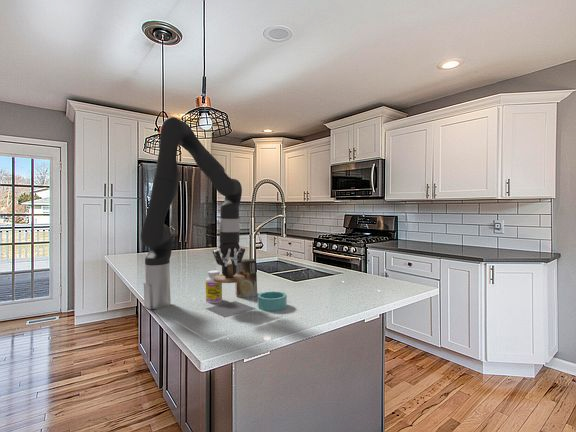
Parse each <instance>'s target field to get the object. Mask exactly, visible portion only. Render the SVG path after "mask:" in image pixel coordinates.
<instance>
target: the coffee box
mask: <svg viewBox="0 0 576 432" xmlns="http://www.w3.org/2000/svg"><path fill="white" fill-rule="evenodd" d="M236 274H239V275H243V276H245V280H244V281H241V282H236V283H234V286H235V287H234V288H235V289H234V290H235V291H234V293H235V296H236V298H245V297H256V296H257V297H258V282H257V281H258V277H257V276H258V275H257V259H255V258H242V261H241V263H238V264H237V266H236Z"/></svg>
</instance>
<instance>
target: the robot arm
mask: <svg viewBox="0 0 576 432" xmlns="http://www.w3.org/2000/svg"><path fill="white" fill-rule="evenodd" d="M159 136H160V137H159V147H158V149H159V150H158V155H157V161H156V167H155V173H154V176H153V181H152V186H151V193H150V198H149V202H148V208H147V212H146V215H145V219H144V222H143V225H142V229H141V232H140V240H141V242H142V244H143V245H144V246H145V247H146V248H149V249H148V252H147V255H146V256H145V259H144V270H145V271H144V272H145V273H144V275H145V278H144V279H145V281H144V283H143V307H145V308H146V309H148V310H156V309H162V308H166V307H169V306H171V304H172V303H171V302H172V301H171V300H172V299H171V270H170V269H171V267H170V266H171V265H170V264H171V262H170V259H171V256H172V244H173V243H172V240H173V239H172V238H173V236H172V231H171V228H170V227H169V226H168V225H167V224H165V221H166V218H167V217H166V216H167V213H168V211H169V209H170V207H171V205H172V204H173V201H174V200H175V197H176V195H177V192H178V187H179V181H180V172H179V167H178V161H177V153H178V148H179V146H180V147H182V148H183V149H184V150H186V151H187V152H188V153H189V154H190V156H191V157H192V158H193V161H195V165H197V167H198V168H199V169H200V171H202V172H203V174H204V175H205V176H206V177H207V178H208V179H209V180H210V182H211V183H212V185H213V187H214V188H215V190H216V191H217V192H218V193H219V194H220V195H221V196H223V197H224V201H223V203H222V204H221V205H220V212H219V213H220V215H219V217H220V218H219V219H220V220H219V247H218V248H217V249H215V250H212V254H213V256H214V259H215V262H216V264H217V265H220V266H221V275H222V274H223V276H228V267H227V264H229V261H230V264H233V275H235V274H236V266H237V264H238V263H241V261H242V259H244V258H243V257H244V255H245V252H246V248H244V247H240V244H239V243H240V237H241V235H240V234H241V233H240V226H241V223H240V206H241V205H240V204H241V200H242V193H243V189H242V184H241V182H240V180H238V179H235V178H231V176H229V175H228V174H227V173H226V170H225V168H224V166H223V165H222V164H221V163H220V161H218V160H217V159H216V157H214V156H213V155H212V154H211V153H210V151H208V150H207V149H206V147H205V146H204V144H202V143H201V141H200V140H199V139H198V137H197V135H196V134H195V132H194V131H193V129H192V128H191V127H190V125H189V124H188V123H187V122H185V121H183V120H181V119H179V118H177V117H174V116H170V117H167V118H166V119H165V120H164V121H163V122H162V125H161V129H160V135H159Z"/></svg>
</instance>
